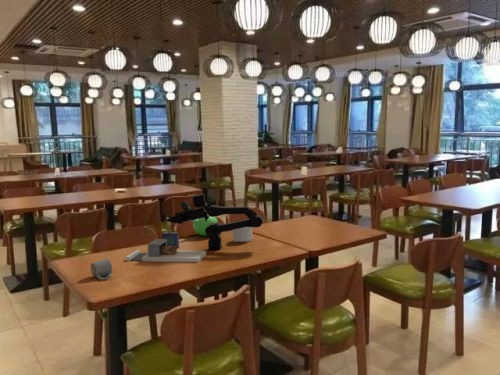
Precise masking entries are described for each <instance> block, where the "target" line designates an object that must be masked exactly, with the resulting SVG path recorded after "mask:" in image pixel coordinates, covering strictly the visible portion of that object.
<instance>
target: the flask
mask: <svg viewBox="0 0 500 375" xmlns="http://www.w3.org/2000/svg"><path fill="white" fill-rule="evenodd" d="M161 235H162V239H167V245H176V246H177V249H180V239H179V232H178V231H176V232H175V231H173V232H172V229H169V230H168V231H165V232H162V234H161Z"/></svg>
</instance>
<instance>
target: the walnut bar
mask: <svg viewBox="0 0 500 375" xmlns="http://www.w3.org/2000/svg"><path fill="white" fill-rule="evenodd" d="M177 249H178V248H177V246H176V245H160V255H175V254H176V253H177Z"/></svg>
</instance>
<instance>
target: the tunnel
mask: <svg viewBox="0 0 500 375" xmlns="http://www.w3.org/2000/svg"><path fill="white" fill-rule="evenodd" d="M160 245H167V239H163V238H155V239H154V240H152V241H151V242H149V243H148V244H147V253H148V255H149V257H160V256H161V255H160Z"/></svg>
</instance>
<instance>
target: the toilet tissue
mask: <svg viewBox="0 0 500 375" xmlns="http://www.w3.org/2000/svg"><path fill="white" fill-rule="evenodd" d="M232 236H233V237H232V241H233V243H237V242H238V243H239V242H241V243H245V242H247V243H248V242H251V241H253V240H254V239H253V227H244V228H239V229H233V230H232ZM252 239H253V240H252Z"/></svg>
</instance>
